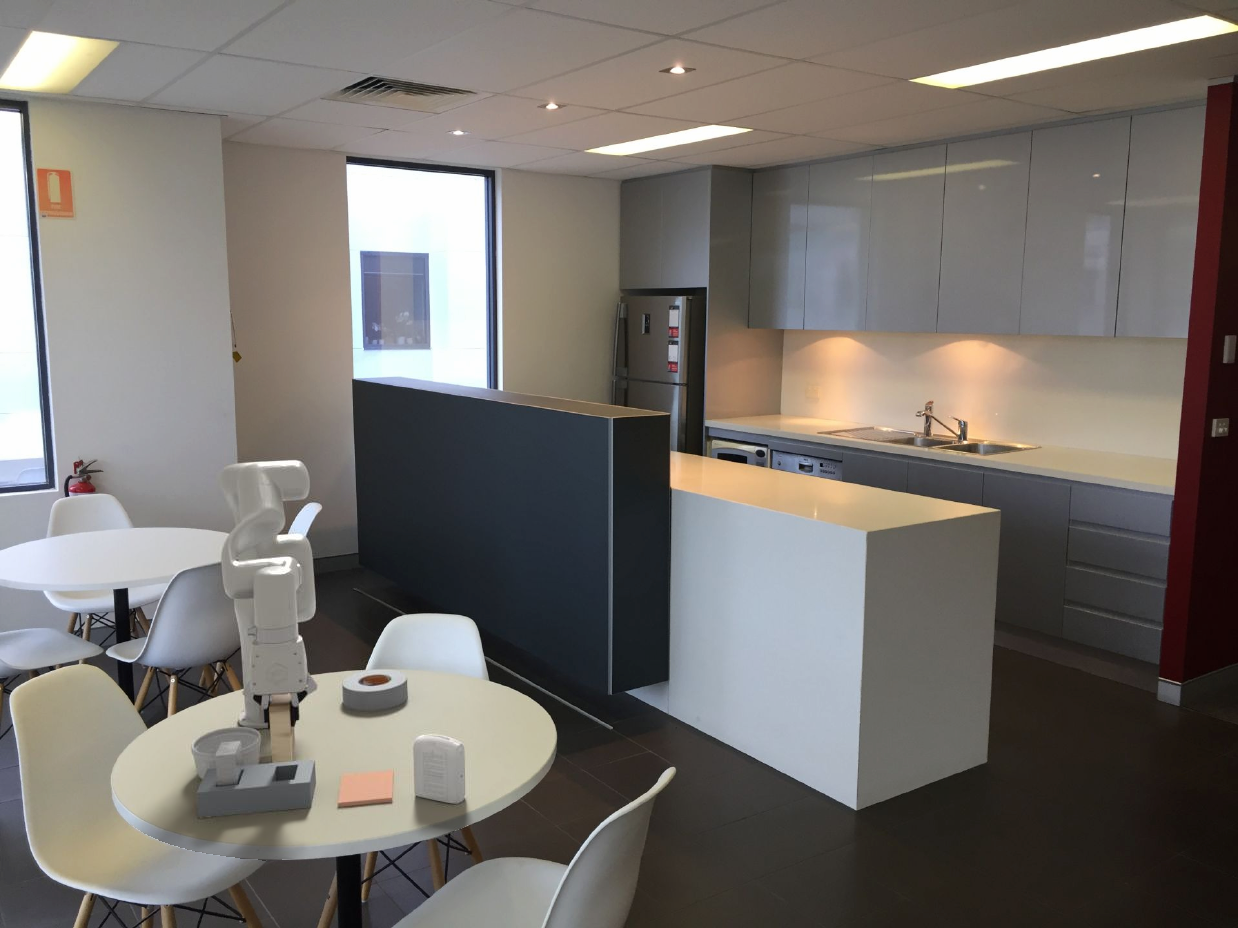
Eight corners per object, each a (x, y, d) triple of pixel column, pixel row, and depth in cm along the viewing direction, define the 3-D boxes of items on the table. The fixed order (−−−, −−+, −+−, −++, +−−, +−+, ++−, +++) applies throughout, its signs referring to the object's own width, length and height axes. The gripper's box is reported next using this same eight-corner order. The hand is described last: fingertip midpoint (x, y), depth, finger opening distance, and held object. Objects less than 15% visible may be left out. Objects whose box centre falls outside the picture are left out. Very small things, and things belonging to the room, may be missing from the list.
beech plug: (276, 749, 193) (273, 695, 191) (295, 747, 193) (292, 694, 192) (272, 762, 187) (269, 707, 185) (291, 761, 188) (288, 705, 186)
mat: (342, 778, 199) (342, 774, 199) (393, 773, 201) (393, 769, 201) (338, 806, 187) (337, 802, 187) (392, 801, 189) (392, 797, 189)
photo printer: (469, 796, 191) (467, 735, 189) (457, 806, 187) (455, 744, 185) (423, 787, 195) (421, 727, 193) (411, 797, 191) (408, 736, 189)
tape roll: (343, 691, 246) (342, 671, 245) (406, 685, 250) (406, 666, 249) (342, 714, 231) (341, 694, 231) (409, 708, 235) (408, 687, 234)
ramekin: (234, 791, 194) (232, 757, 193) (178, 782, 198) (175, 749, 197) (276, 762, 206) (274, 730, 205) (222, 754, 210) (220, 723, 209)
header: (209, 792, 193) (207, 768, 192) (316, 782, 197) (314, 759, 196) (198, 818, 183) (196, 792, 183) (311, 806, 187) (309, 781, 187)
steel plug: (224, 796, 192) (221, 742, 190) (244, 794, 192) (240, 740, 191) (219, 811, 186) (215, 755, 184) (238, 809, 187) (235, 753, 185)
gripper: (226, 642, 181) (233, 736, 184) (321, 636, 184) (325, 729, 187) (234, 629, 188) (239, 720, 191) (324, 623, 192) (328, 713, 195)
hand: (282, 723), depth 189 cm, fingers closed on beech plug, 3 cm apart
